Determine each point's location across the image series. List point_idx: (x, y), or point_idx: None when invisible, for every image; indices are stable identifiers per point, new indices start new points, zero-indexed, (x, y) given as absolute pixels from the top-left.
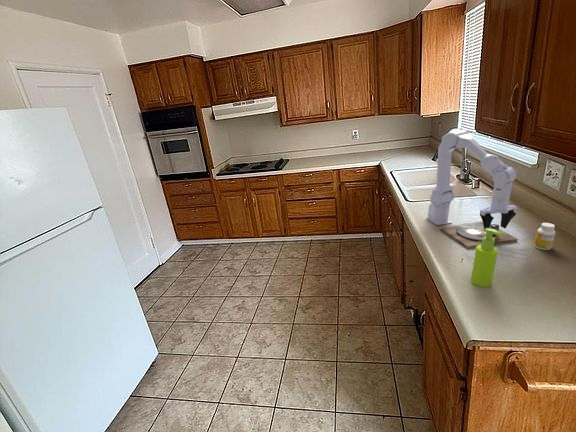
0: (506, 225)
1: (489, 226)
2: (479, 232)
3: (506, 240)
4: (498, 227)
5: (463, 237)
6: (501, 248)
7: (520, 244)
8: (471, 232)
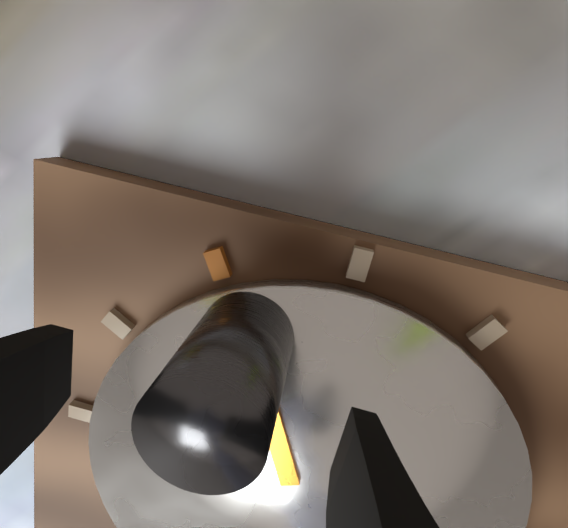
0: (14, 343)
1: (380, 471)
2: (309, 457)
3: (181, 195)
4: (193, 372)
5: None
6: (353, 122)
7: (83, 85)
8: None
